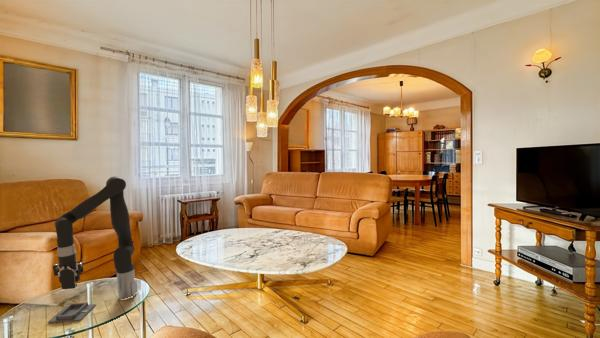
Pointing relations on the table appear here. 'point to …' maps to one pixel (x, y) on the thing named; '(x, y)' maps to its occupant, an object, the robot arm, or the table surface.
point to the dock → (72, 313)
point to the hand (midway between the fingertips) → (69, 281)
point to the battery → (68, 279)
